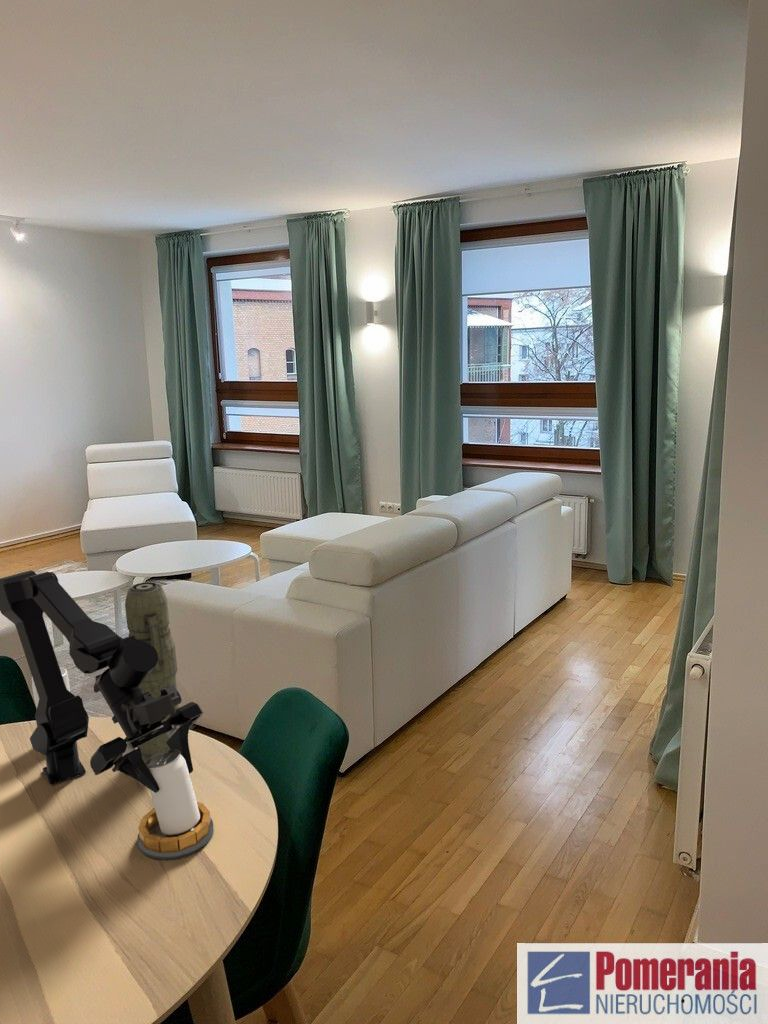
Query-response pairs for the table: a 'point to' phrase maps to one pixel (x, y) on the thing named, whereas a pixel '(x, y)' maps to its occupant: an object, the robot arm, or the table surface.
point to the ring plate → (174, 855)
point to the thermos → (153, 627)
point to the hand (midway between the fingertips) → (174, 781)
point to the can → (173, 793)
